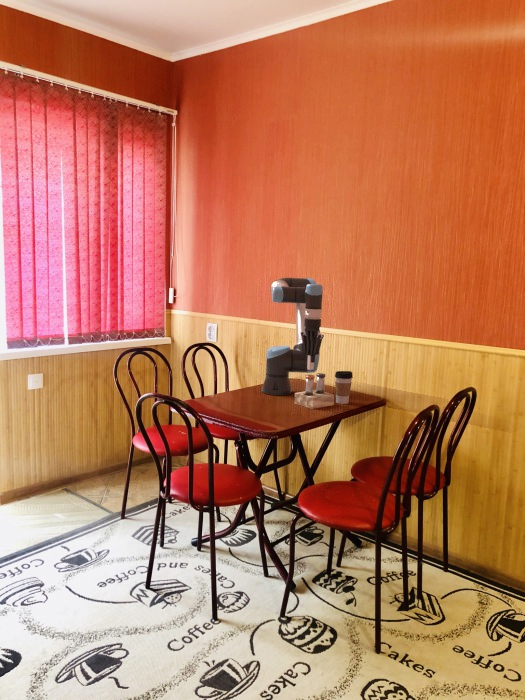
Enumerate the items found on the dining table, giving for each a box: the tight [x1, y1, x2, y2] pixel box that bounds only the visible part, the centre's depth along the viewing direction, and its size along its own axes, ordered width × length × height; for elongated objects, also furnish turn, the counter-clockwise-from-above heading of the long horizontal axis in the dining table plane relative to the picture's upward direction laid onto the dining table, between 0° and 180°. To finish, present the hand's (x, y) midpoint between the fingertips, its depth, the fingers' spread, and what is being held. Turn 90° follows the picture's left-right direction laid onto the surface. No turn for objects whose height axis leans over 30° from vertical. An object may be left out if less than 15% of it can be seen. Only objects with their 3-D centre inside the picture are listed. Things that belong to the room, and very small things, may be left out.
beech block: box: [293, 389, 335, 410], centre depth 267 cm, size 12×14×5 cm
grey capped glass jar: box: [315, 372, 327, 394], centre depth 268 cm, size 4×4×9 cm
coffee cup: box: [334, 370, 353, 405], centre depth 272 cm, size 8×8×15 cm
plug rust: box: [304, 374, 316, 396], centre depth 264 cm, size 4×4×9 cm
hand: (310, 369), depth 262 cm, fingers closed
